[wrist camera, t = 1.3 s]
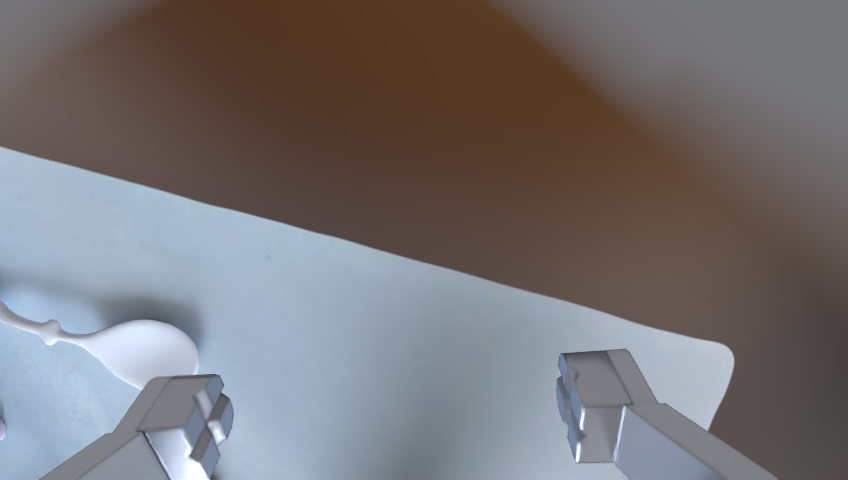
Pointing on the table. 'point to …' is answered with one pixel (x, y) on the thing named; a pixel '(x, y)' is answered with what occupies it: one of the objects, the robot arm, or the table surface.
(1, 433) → the smoothie
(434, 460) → the table surface
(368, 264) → the table surface
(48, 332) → the spoon
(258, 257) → the table surface
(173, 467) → the robot arm
